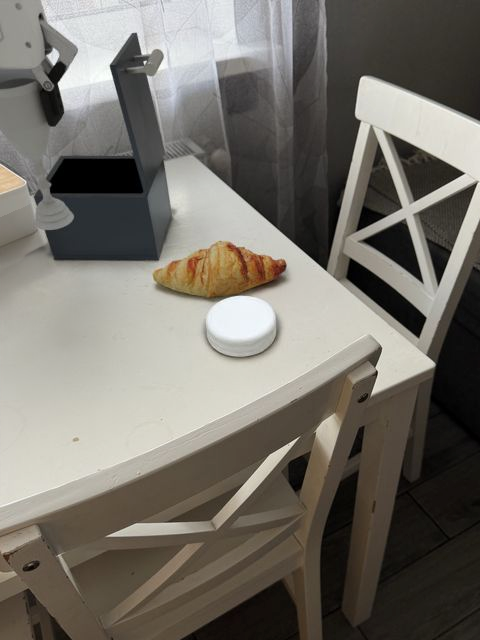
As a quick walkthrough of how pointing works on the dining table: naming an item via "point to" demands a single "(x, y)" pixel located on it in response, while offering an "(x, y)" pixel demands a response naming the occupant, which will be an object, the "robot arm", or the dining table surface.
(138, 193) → the dark grey box
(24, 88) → the chalice
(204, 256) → the croissant
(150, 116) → the lid
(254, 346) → the white short cylinder
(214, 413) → the dining table surface
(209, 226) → the dining table surface
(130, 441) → the dining table surface
